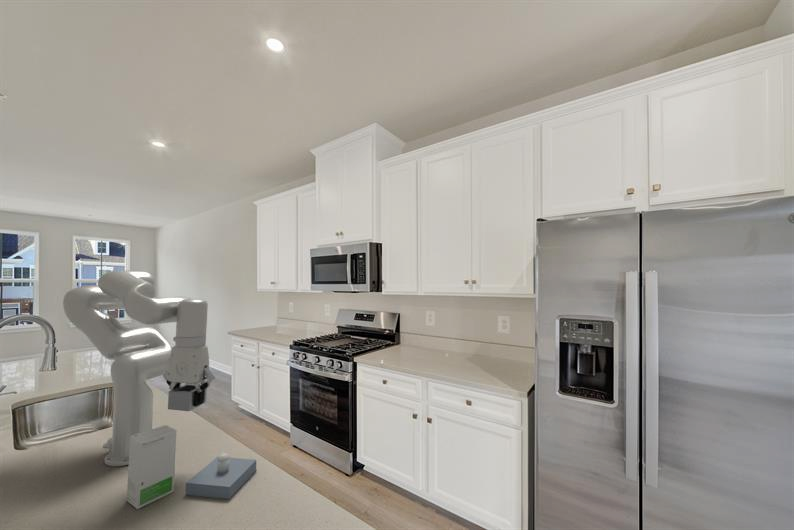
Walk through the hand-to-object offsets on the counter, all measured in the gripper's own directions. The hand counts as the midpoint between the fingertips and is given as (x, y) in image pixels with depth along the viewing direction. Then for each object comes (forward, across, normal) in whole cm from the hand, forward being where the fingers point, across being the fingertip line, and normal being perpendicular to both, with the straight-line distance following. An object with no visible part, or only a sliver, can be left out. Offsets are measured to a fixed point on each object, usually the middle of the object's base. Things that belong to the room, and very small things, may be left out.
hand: (187, 403), depth 93 cm
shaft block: (+18, +15, -4) cm, 24 cm away
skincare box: (+19, +1, -12) cm, 22 cm away
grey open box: (+1, 0, 0) cm, 1 cm away
